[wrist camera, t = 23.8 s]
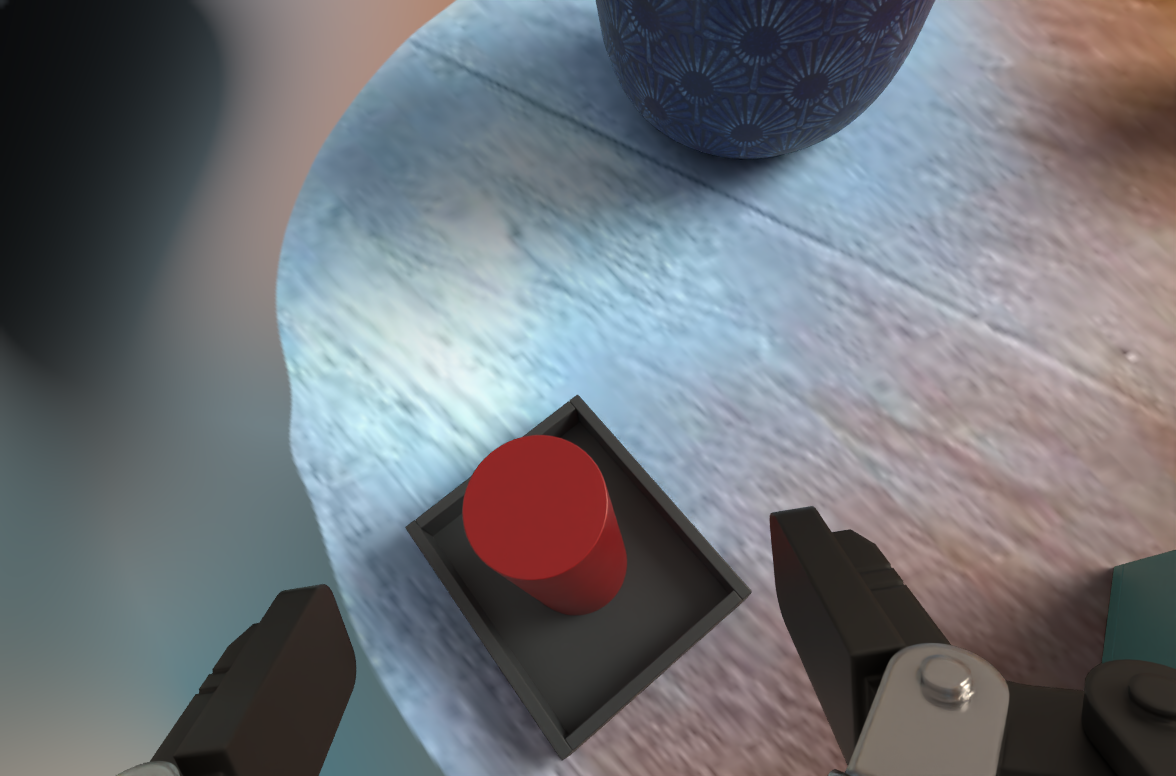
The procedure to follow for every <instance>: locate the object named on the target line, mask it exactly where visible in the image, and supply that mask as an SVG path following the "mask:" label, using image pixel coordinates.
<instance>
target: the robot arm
mask: <svg viewBox="0 0 1176 776" xmlns="http://www.w3.org/2000/svg"><path fill="white" fill-rule="evenodd" d="M770 532H771V543H772V554H773V564H774V575H775V585H776V592H777V598H778V602H779V606H780V610H781V613H782V617H783V619H784V622H785V624H786V627H787V629H788V631H789V633H790V636H791V638H792V640H793V643H794V645H795V647H796V649H797V652H798V654H799V656H800V658H801V661H802V663H803V665H804V667H805V670H806V672H807V674H808V677H809V679H810V681H811V683H812V686H813V688H814V690H815V692H816V695H817V697H818V699H819V701H820V704H821V706H822V708H823V711H824V713H825V715H826V717H827V720H828V722H829V724H830V726H831V729H832V731H833V733H834V735H835V738H836V740H837V742H838V744H839V747H840V749H841V751H842V754H843V756H844V758H845V760H846V763H847V765H848V768H847V770H846V771H845V773H844V772H841V771H839V770H836V769H834V770H832V771H831V772H830V773H829V775H828V776H1176V669H1174V668H1171V667H1168V666H1165V665H1161V664H1158V663H1154V662H1148V661H1142V660H1131V659H1124V660H1113V661H1108V662H1105V663H1102V664H1099V665H1098V666H1096V667H1094V668H1093V669H1092V670H1091V671H1090V672H1089V673H1088V675H1087V677H1086V679H1085V688H1084V691H1081V690H1071V689H1060V688H1050V687H1040V686H1031V685H1024V684H1019V683H1015V682H1010V681H1007V680H1004V678H1003V677H1002V675H1001V674H1000V673H999V671H998V670H997V669H996V668H995V667H994V666H993V665H991V664H990V663H989V662H987V661H986V660H985V659H983V658H982V657H980V656H978V655H976V654H974V653H972V652H970V651H968V650H965V649H962V648H959V647H956V646H952V645H951V644H950V643H949V641H948V640H947V639H946V637H945V636H944V635H943V633H942V632H941V631H940V629H939V628H938V627H937V625H936V624H935V623H934V621H933V620H932V619H931V617H930V616H929V615H928V613H927V612H926V611H925V609H924V608H923V607H922V605H921V604H920V603H919V601H918V600H917V599H916V598H915V596H914V595H913V594H912V592H911V591H910V590H909V588H908V587H907V586H906V585H904V584H903V580H902V579H901V578H900V576H899V575H898V574H897V572H896V571H895V570H894V568H891V565H890V563H889V562H888V560H887V559H886V558H885V556H884V555H883V554H882V552H881V551H880V550H879V548H878V547H877V546H876V544H874V543H872V542H871V541H869V540H867V539H866V538H864V537H862V536H861V535H859V534H858V533H856V532H854V531H853V530H851V529H850V530H844V531H837V532H831V531H830V529H829V528H828V526H827V525H826V523H825V522H824V520H823V519H822V517H821V516H820V514H819V513H818V511H817V510H816V508H815V507H813V506H810V507H803V508H797V509H791V510H785V511H779V512H773V513H771V514H770ZM355 679H356V660H355V654H354V650H353V647H352V645H351V642H350V639H349V636H348V633H347V631H346V628H345V625H344V622H343V620H342V617H341V614H340V611H339V609H338V606H337V603H336V601H335V598H334V595H333V593H332V591H331V589H330V588H329V587H328V586H327V585H325V584H321V585H315V586H309V587H303V588H296V589H290V590H284V591H282V592H280V593H279V594H278V595H277V597H276V598H275V600H274V601H273V603H272V604H271V606H270V607H269V609H268V610H267V612H266V614H265V615H264V617H263V618H262V620H261V621H260V623H256V624H253V625H252V626H251V627H249V628H248V629H247V630H246V631H245V632H244V633H243V634H242V635H240V636H239V637H238V638H237V639H236V640H235V641H234V642H232V643H231V644H230V645H229V646H228V647H227V649H226V650H225V652H224V653H223V655H222V656H221V658H220V659H219V661H218V662H217V664H216V665H215V667H214V668H213V673H212V674H209V675H208V677H207V678H206V680H205V681H204V683H203V684H202V686H201V687H200V689H199V694H196V695H195V696H194V697H193V699H192V700H191V702H190V703H189V705H188V706H187V708H186V709H185V711H184V712H183V714H182V715H181V716H180V718H179V719H178V721H177V723H176V724H175V725H174V727H173V728H172V730H171V731H170V733H169V734H168V736H167V737H166V739H165V740H164V741H163V743H162V744H161V746H160V747H159V749H158V750H157V752H156V753H155V755H154V756H153V758H152V759H151V761H150V762H147V763H143V764H140V765H137V766H135V767H132V768H130V769H127V770H125V771H123V772H122V773H120V774H118V775H116V776H319V773H320V771H321V768H322V766H323V763H324V761H325V758H326V756H327V753H328V751H329V748H330V746H331V743H332V741H333V738H334V736H335V733H336V731H337V728H338V726H339V723H340V721H341V718H342V716H343V713H344V711H345V708H346V706H347V703H348V701H349V698H350V696H351V693H352V691H353V688H354V684H355Z"/></svg>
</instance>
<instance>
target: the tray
mask: <svg viewBox="0 0 1176 776" xmlns="http://www.w3.org/2000/svg"><path fill="white" fill-rule="evenodd" d="M532 435H547V436H554V437H558V438H562V439H564V440H567V441H569V442H571V443H573V444H575V445H577V446H578V447H580V448H581V449H582V450H584V451H585V452H586V453H587V454H588V455H589V456H590V457H591V458H592V459H593V461H594V462H595V463H596V465H597V466H598V468H599V470H600V471H601V473H602V476H603V478H604V481H605V484H606V487H607V490H608V493H609V497H610V500H611V503H612V506H613V510H614V513H615V516H616V520H617V523H618V526H619V529H620V533H621V536H622V539H623V542H624V546H625V549H626V554H627V570H626V575H625V579H624V581H623V584H622V586H621V588H620V590H619V591H618V593H617V594H616V596H615V597H614V598H613V599H612V600H611V601H610V602H609V603H608V604H606V605H605V606H604V607H602V608H600V609H599V610H597V611H594V612H592V613H589V614H585V615H567V614H562V613H559V612H556V611H554V610H552V609H550V608H549V607H547V606H546V605H544V604H543V603H542V602H540V601H539V600H537V599H536V598H534V597H533V596H531V595H530V594H528V593H527V592H525V591H524V590H522V589H521V588H519V587H518V586H517V585H515V584H514V583H512V582H511V581H509V580H508V579H506V578H505V577H503V576H502V575H500V574H499V573H497V572H496V571H494V570H493V569H492V568H490V567H489V566H488V565H486V564H485V563H484V562H483V561H482V560H481V559H480V558H479V557H478V555H477V554H476V553H475V551H474V550H473V548H472V547H471V545H470V543H469V541H468V538H467V536H466V533H465V529H464V524H463V514H462V508H463V499H464V495H465V491H466V488H467V485H468V483H469V480H470V478H471V477H472V476H471V477H470V478H469V479H467V480H466V481H465V482H463V483H462V484H461V485H460V486H458V487H457V488H456V489H454V490H453V491H452V492H451V493H449V494H448V495H447V496H445V497H444V498H443V499H441V500H440V501H439V502H438V503H436V504H435V505H434V506H432V507H431V508H430V509H428V510H427V511H426V512H425V513H423V514H422V515H421V516H419V517H418V518H417V519H416V521H415V520H414V521H413V522H411V523H410V524H409V525H408V526H406V527H405V528H406V530H407V531H408V533H409V534H410V536H411V537H412V539H413V540H414V542H415V543H416V545H417V546H418V547H419V549H420V550H421V552H422V553H423V555H424V556H425V558H426V559H427V561H428V562H429V564H430V565H431V567H432V568H433V570H434V571H435V573H436V574H437V576H438V577H439V579H440V580H441V582H442V583H443V585H444V586H445V588H446V589H447V591H448V592H449V594H450V595H451V597H452V598H453V600H454V601H455V603H456V604H457V606H458V607H459V608H460V610H461V611H462V613H463V614H464V616H465V617H466V619H467V620H468V622H469V623H470V625H471V626H472V628H473V629H474V631H475V632H476V634H477V635H478V637H479V638H480V640H481V641H482V643H483V644H484V646H485V647H486V649H487V650H488V652H489V653H490V655H491V656H492V658H493V659H494V661H495V662H496V664H497V665H498V666H499V668H500V669H501V671H502V672H503V674H504V675H505V677H506V678H507V680H508V681H509V683H510V684H511V686H512V687H513V689H514V690H515V692H516V693H517V695H518V696H519V698H520V699H521V701H522V702H523V704H524V705H525V707H526V708H527V710H528V711H529V713H530V714H531V716H532V717H533V719H534V720H535V722H536V723H537V725H538V726H539V727H540V729H541V730H542V732H543V733H544V735H545V736H546V738H547V739H548V741H549V742H550V744H551V745H552V747H553V748H554V750H555V751H556V753H557V754H558V756H559V757H560V759H561V760H564V759H565V758H567V757H568V756H570V755H571V754H572V753H573V752H574V751H576V750H577V749H578V748H579V747H580V746H581V745H582V744H583V743H585V742H586V741H587V740H588V739H589V738H590V737H591V736H592V735H594V734H595V733H596V732H597V731H598V730H599V729H600V728H601V727H603V726H604V725H605V724H606V723H607V722H608V721H609V720H610V719H612V718H613V717H614V716H615V715H616V714H617V713H618V712H619V711H621V710H622V709H623V708H624V707H625V706H626V705H627V704H628V703H630V702H631V701H632V700H633V699H634V698H635V697H636V696H637V695H639V694H640V693H641V692H642V691H643V690H644V689H645V688H646V687H648V686H649V685H650V684H651V683H652V682H653V681H654V680H655V679H657V678H658V677H659V676H660V675H661V674H662V673H663V672H664V671H666V670H667V669H668V668H669V667H670V666H671V665H672V664H673V663H675V662H676V661H677V660H678V659H679V658H680V657H681V656H682V655H684V654H685V653H686V652H687V651H688V650H689V649H690V648H691V647H693V646H694V645H695V644H696V643H697V642H698V641H699V640H700V639H702V638H703V637H704V636H705V635H706V634H707V633H708V632H709V631H711V630H712V629H713V628H714V627H715V626H716V625H717V624H718V623H720V622H721V621H722V620H723V619H724V618H725V617H726V616H727V615H729V614H730V613H731V612H732V611H733V610H734V609H735V608H736V607H738V606H739V605H740V604H741V603H742V602H743V601H744V600H745V599H746V598H747V597H748V596H749V595H750V594H751V590H750V589H749V588H748V587H747V585H746V584H745V583H744V582H743V581H742V580H741V579H740V577H739V576H738V575H737V574H736V573H735V572H734V571H733V570H732V568H731V567H730V566H729V565H728V564H727V563H726V562H725V560H724V559H723V558H722V557H721V556H720V555H719V554H718V553H717V551H716V550H715V549H714V548H713V547H712V546H711V545H710V543H709V542H708V541H707V540H706V539H705V538H704V537H703V536H702V534H701V533H700V532H699V531H698V530H697V529H696V528H695V527H694V525H693V524H692V523H691V522H690V521H689V520H688V519H687V517H686V516H685V515H684V514H683V513H682V512H681V511H680V510H679V508H678V507H677V506H676V505H675V504H674V503H673V502H672V500H671V499H670V498H669V497H668V496H667V495H666V494H665V493H664V491H663V490H662V489H661V488H660V487H659V486H658V485H657V483H656V482H655V481H654V480H653V479H652V478H651V477H650V476H649V474H648V473H647V472H646V471H645V470H644V469H643V468H642V466H641V465H640V464H639V463H638V462H637V461H636V460H635V459H634V457H633V456H632V455H631V454H630V453H629V452H628V451H627V449H626V448H625V447H624V446H623V445H622V444H621V443H620V442H619V440H618V439H617V438H616V437H615V436H614V435H613V434H612V433H611V431H610V430H609V429H608V428H607V427H606V426H605V425H604V423H603V422H602V421H601V420H600V419H599V418H598V417H597V416H596V414H595V413H594V412H593V411H592V410H591V409H590V408H589V406H588V405H587V404H586V403H585V402H584V401H583V400H582V399H581V397H580V396H579V395H576V396H575V397H574V398H572V399H571V400H570V402H567V403H566V404H564V405H563V406H562V407H561V408H559V409H558V410H557V411H555V412H554V413H553V414H552V415H550V416H549V417H548V418H546V419H545V420H544V421H542V422H541V423H540V424H539V425H537V426H536V427H535V428H533V429H532V430H531V431H529V432H528V433H527V434H526V435H524V436H523V437H525V436H532Z"/></svg>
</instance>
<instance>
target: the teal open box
mask: <svg viewBox="0 0 1176 776" xmlns="http://www.w3.org/2000/svg"><path fill="white" fill-rule="evenodd" d="M1124 659H1131V660H1142V661H1148V662H1154V663H1158V664H1161V665H1165V666H1168V667H1171V668H1174V669H1176V550H1173V551H1169V552H1166V553H1162V554H1159V555H1155V556H1151V557H1148V558H1144V559H1140V560H1137V561H1133V562H1129V563H1126V564H1122V565H1119V566H1115V567H1114V572H1113V579H1112V587H1111V595H1110V603H1109V611H1108V618H1107V626H1106V634H1105V642H1104V649H1103V657H1102V663H1105V662H1108V661H1113V660H1124Z"/></svg>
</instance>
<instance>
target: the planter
mask: <svg viewBox="0 0 1176 776" xmlns="http://www.w3.org/2000/svg"><path fill="white" fill-rule="evenodd" d="M934 1H935V0H596V4H597V9H598V15H599V20H600V26H601V31H602V35H603V39H604V44H605V47H606V49H607V52H608V55H609V58H610V61H611V64H612V67H613V69H614V71H615V73H616V76H617V78H618V80H619V82H620V84H621V85H622V87H623V89H624V91H625V92H626V94H627V96H628V97H629V99H630V100H631V101H632V103H633V104H634V106H635V107H636V108H637V109H638V111H639V112H640V113H641V114H642V115H643V116H644V117H645V119H646V120H647V121H648V122H650V123H651V124H652V125H653V126H654V127H655V128H657V129H658V130H660V131H661V132H662V133H664V134H665V135H667V136H668V137H670V138H672V139H673V140H675V141H677V142H679V143H681V144H683V145H685V146H687V147H690V148H692V149H695V150H698V151H701V152H704V153H707V154H711V155H715V156H720V157H727V158H737V159H756V158H767V157H773V156H778V155H784V154H787V153H791V152H795V151H798V150H801V149H804V148H807V147H809V146H812V145H814V144H816V143H818V142H820V141H823V140H825V139H827V138H829V137H830V136H832V135H834V134H836V133H837V132H839V131H840V130H842V129H843V128H845V127H846V126H847V125H849V124H850V123H851V122H852V121H854V120H855V119H856V118H857V117H858V116H859V115H861V114H862V113H863V112H864V111H865V110H866V109H867V108H868V107H869V106H870V105H871V104H872V103H873V102H874V101H875V100H876V99H877V97H878V96H879V95H880V94H881V93H882V92H883V91H884V89H885V88H886V87H887V86H888V84H889V83H890V82H891V80H892V79H893V78H894V76H895V75H896V73H897V72H898V70H899V69H900V67H901V66H902V64H903V63H904V61H905V60H906V58H907V56H908V54H909V53H910V51H911V49H912V47H913V45H914V43H915V41H916V39H917V37H918V35H919V33H920V31H921V29H922V27H923V25H924V23H925V21H926V18H927V16H928V14H929V12H930V10H931V8H932V6H933V4H934Z"/></svg>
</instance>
